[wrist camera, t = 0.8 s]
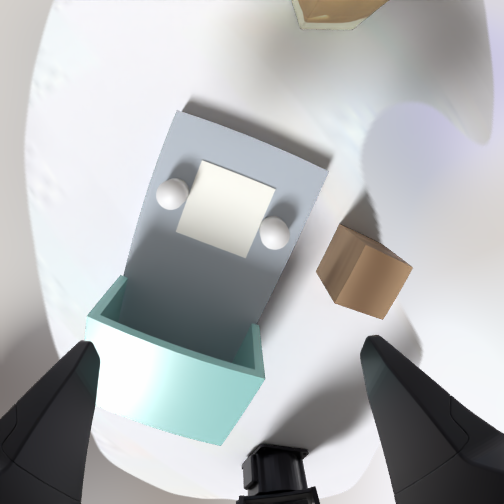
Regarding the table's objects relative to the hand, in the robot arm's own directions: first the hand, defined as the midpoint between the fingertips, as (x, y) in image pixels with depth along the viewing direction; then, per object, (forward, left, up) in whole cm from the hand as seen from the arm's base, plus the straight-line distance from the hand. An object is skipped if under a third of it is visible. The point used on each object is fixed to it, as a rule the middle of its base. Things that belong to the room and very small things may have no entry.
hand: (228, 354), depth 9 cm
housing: (+1, +9, -11) cm, 15 cm away
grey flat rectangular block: (+1, +6, -13) cm, 14 cm away
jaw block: (-9, -2, -13) cm, 16 cm away
